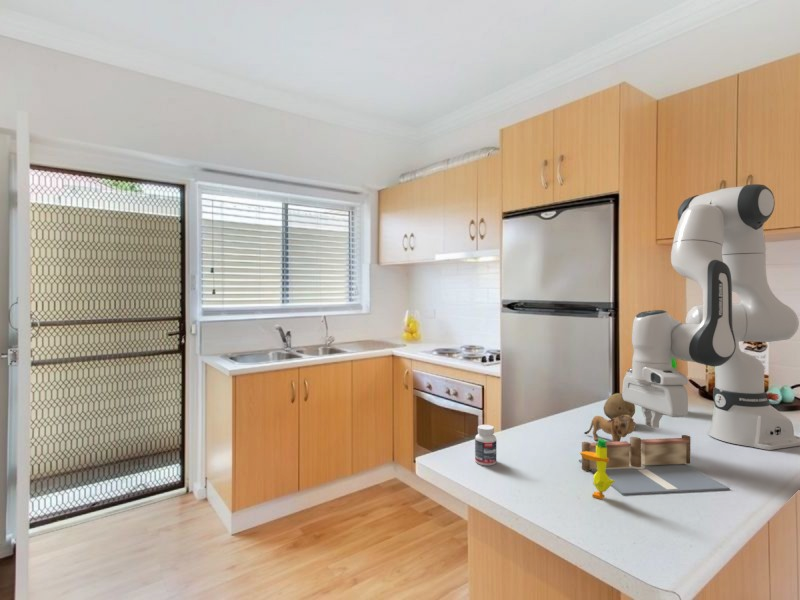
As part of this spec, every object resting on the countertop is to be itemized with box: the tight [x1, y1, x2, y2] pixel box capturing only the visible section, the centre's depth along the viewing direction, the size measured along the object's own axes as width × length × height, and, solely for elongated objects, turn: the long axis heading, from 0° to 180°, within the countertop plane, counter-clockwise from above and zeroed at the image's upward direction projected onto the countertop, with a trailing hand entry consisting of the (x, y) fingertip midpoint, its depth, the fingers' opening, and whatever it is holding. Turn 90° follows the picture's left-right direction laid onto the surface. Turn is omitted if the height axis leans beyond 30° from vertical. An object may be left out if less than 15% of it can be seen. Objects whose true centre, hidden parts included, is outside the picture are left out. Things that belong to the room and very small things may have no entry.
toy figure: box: [579, 438, 615, 500], centre depth 88 cm, size 7×4×12 cm, turn 50°
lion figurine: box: [583, 415, 637, 442], centre depth 120 cm, size 15×5×9 cm, turn 35°
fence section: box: [581, 436, 642, 472], centre depth 102 cm, size 15×2×7 cm, turn 95°
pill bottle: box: [474, 424, 497, 467], centre depth 107 cm, size 5×5×9 cm
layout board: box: [579, 458, 731, 496], centre depth 99 cm, size 24×18×1 cm
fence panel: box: [640, 434, 691, 465], centre depth 103 cm, size 12×2×6 cm, turn 95°
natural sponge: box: [603, 392, 636, 420], centre depth 136 cm, size 9×9×10 cm
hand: (652, 426), depth 110 cm, fingers closed
